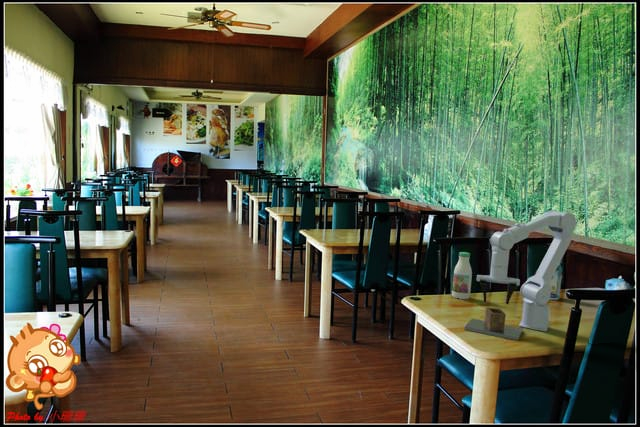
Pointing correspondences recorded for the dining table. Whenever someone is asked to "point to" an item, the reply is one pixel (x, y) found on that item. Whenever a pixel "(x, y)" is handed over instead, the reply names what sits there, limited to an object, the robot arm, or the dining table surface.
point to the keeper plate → (508, 332)
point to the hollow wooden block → (495, 319)
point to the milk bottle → (462, 277)
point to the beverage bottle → (556, 283)
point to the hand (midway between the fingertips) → (495, 302)
